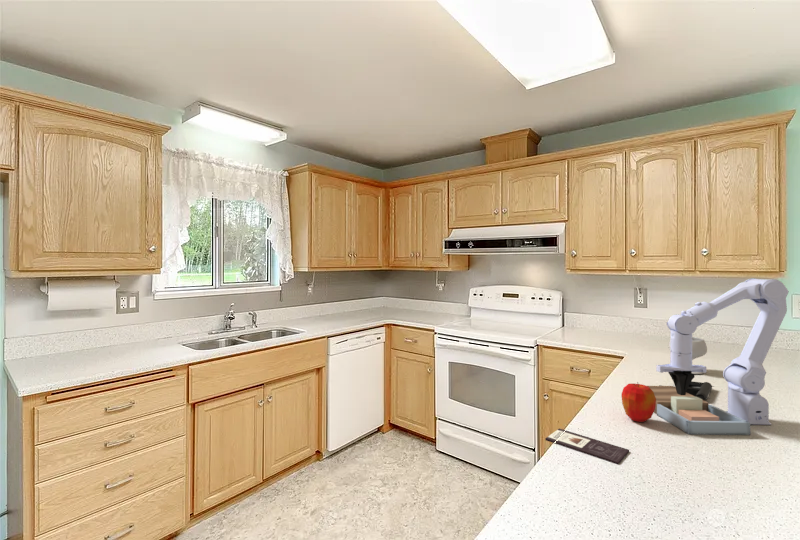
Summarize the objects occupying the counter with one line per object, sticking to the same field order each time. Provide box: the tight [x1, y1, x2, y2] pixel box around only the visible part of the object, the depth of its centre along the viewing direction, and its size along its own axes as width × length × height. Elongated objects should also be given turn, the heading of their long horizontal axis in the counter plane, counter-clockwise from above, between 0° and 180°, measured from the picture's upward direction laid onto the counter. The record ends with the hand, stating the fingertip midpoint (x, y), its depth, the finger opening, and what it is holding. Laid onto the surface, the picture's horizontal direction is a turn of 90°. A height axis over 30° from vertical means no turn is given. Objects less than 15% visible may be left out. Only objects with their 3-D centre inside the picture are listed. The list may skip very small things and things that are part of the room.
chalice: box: [668, 336, 708, 375], centre depth 174 cm, size 14×14×15 cm
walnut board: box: [647, 385, 710, 415], centre depth 131 cm, size 17×16×4 cm
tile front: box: [679, 410, 719, 421], centre depth 116 cm, size 6×8×2 cm
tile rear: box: [671, 396, 702, 414], centre depth 121 cm, size 6×8×2 cm
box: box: [656, 404, 751, 436], centre depth 115 cm, size 14×17×4 cm
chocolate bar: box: [544, 428, 630, 465], centre depth 102 cm, size 9×1×18 cm
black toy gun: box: [658, 380, 715, 401], centre depth 145 cm, size 3×20×16 cm
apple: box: [621, 381, 656, 423], centre depth 118 cm, size 9×9×12 cm
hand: (681, 394), depth 124 cm, fingers closed
